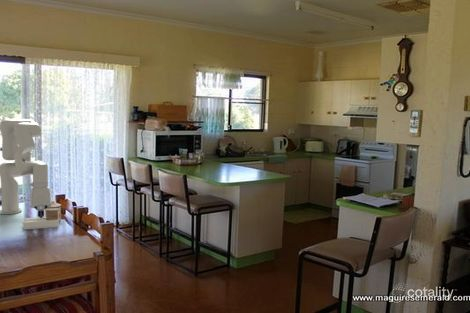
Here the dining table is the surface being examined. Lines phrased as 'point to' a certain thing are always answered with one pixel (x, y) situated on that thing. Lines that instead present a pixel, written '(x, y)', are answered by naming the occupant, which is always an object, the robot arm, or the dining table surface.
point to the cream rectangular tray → (39, 223)
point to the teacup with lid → (55, 205)
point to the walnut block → (52, 214)
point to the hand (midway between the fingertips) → (41, 217)
